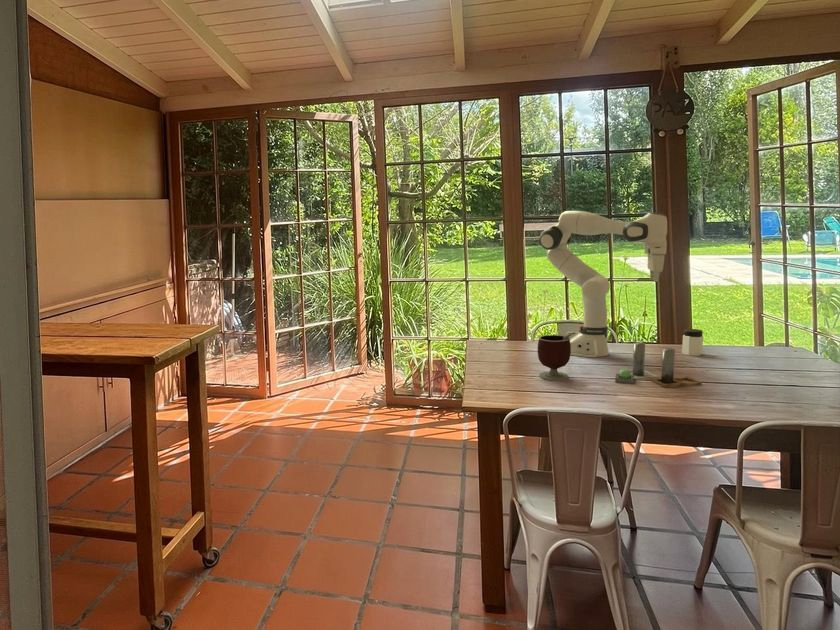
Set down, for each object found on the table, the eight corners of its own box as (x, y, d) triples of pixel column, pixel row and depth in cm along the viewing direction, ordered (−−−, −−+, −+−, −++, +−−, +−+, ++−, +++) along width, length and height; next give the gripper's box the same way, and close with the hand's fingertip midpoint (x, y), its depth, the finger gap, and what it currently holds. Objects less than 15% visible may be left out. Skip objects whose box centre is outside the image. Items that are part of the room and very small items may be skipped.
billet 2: (661, 384, 211) (662, 350, 208) (660, 381, 215) (662, 347, 212) (673, 385, 209) (675, 350, 207) (672, 382, 213) (674, 348, 211)
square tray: (632, 381, 220) (632, 378, 220) (619, 374, 231) (619, 371, 231) (657, 379, 221) (657, 376, 221) (643, 372, 232) (643, 369, 232)
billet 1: (632, 376, 225) (633, 344, 223) (632, 374, 229) (634, 342, 227) (643, 377, 223) (645, 344, 221) (643, 374, 227) (645, 342, 225)
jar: (686, 351, 269) (688, 327, 267) (704, 353, 263) (705, 329, 261) (679, 354, 263) (681, 330, 261) (697, 357, 257) (698, 332, 255)
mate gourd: (534, 379, 227) (535, 333, 223) (539, 371, 239) (540, 327, 236) (572, 382, 221) (573, 335, 218) (575, 373, 234) (576, 329, 231)
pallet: (663, 390, 207) (663, 385, 207) (650, 384, 216) (650, 378, 216) (701, 387, 209) (701, 382, 209) (687, 381, 218) (687, 376, 218)
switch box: (615, 385, 216) (615, 378, 215) (615, 380, 222) (616, 373, 222) (633, 386, 213) (633, 379, 213) (634, 382, 219) (634, 374, 219)
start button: (619, 380, 216) (619, 371, 216) (619, 378, 220) (620, 368, 219) (629, 381, 215) (630, 372, 214) (630, 378, 218) (630, 369, 218)
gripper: (644, 248, 246) (643, 278, 249) (651, 250, 227) (649, 282, 229) (659, 248, 245) (658, 278, 247) (667, 250, 225) (665, 282, 227)
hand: (654, 280), depth 238 cm, fingers open, 8 cm apart
